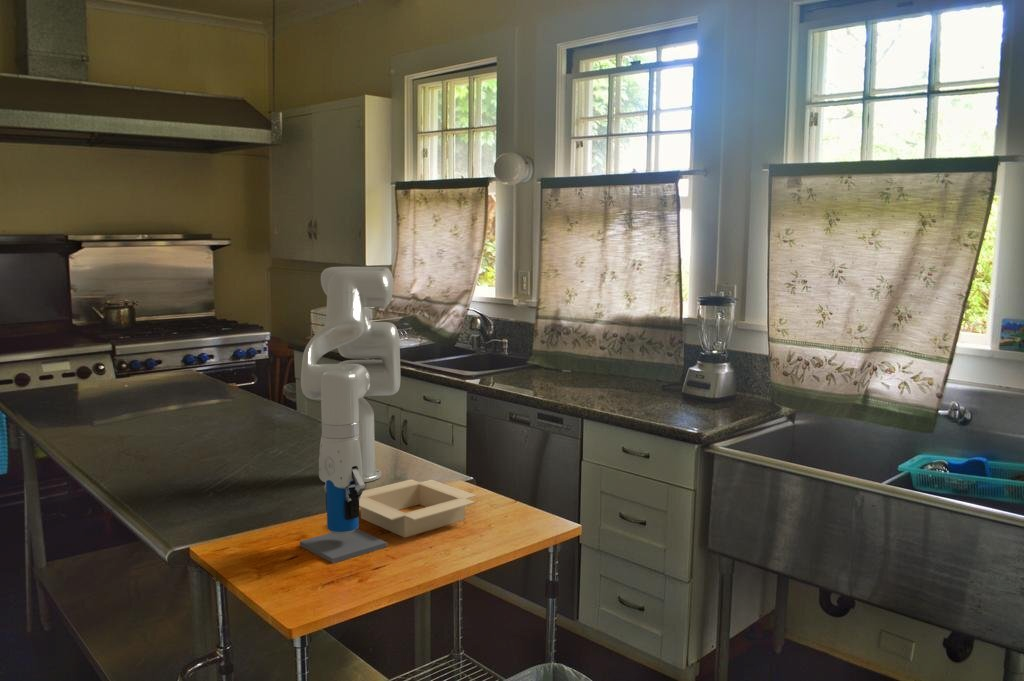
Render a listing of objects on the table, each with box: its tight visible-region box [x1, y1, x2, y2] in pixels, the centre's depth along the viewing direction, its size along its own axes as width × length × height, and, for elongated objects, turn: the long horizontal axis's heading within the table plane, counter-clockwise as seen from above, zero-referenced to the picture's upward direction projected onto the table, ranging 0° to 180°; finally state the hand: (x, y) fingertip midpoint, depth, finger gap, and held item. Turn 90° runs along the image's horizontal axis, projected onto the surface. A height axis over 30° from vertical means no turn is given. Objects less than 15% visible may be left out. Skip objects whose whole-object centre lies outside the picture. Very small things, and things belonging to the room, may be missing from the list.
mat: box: [299, 528, 388, 564], centre depth 180 cm, size 13×13×1 cm
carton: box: [359, 478, 478, 538], centre depth 197 cm, size 24×24×5 cm
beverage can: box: [325, 480, 360, 534], centre depth 179 cm, size 6×6×12 cm
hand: (342, 513), depth 180 cm, fingers closed on beverage can, 6 cm apart
